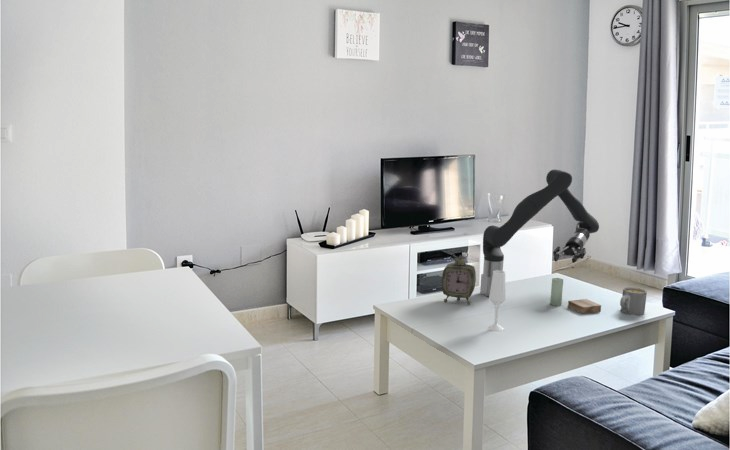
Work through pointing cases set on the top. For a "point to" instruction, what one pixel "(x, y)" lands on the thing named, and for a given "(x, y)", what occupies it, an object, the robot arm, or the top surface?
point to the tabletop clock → (458, 279)
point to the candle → (556, 292)
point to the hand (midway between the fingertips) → (564, 260)
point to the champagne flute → (497, 295)
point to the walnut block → (584, 306)
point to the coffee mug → (633, 300)
